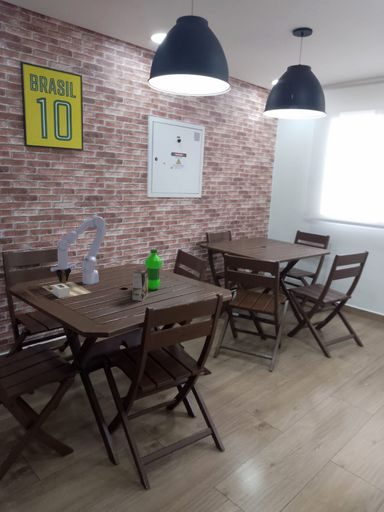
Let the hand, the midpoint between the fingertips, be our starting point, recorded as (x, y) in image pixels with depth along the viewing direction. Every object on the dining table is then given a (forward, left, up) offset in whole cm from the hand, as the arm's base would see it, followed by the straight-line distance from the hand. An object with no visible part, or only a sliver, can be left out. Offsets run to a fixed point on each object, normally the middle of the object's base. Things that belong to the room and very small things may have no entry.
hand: (63, 281), depth 223 cm
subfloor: (+2, +9, -4) cm, 10 cm away
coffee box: (-27, +43, -4) cm, 51 cm away
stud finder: (+9, +17, -3) cm, 19 cm away
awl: (0, 0, -2) cm, 2 cm away
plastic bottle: (-44, +32, -4) cm, 55 cm away
